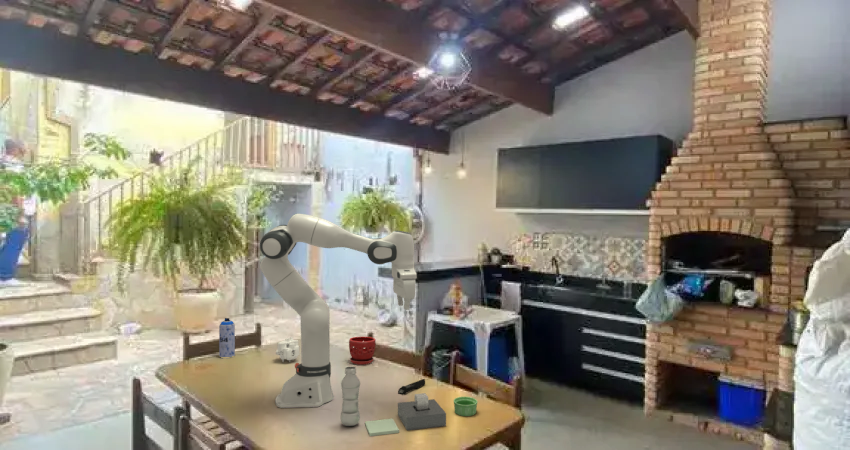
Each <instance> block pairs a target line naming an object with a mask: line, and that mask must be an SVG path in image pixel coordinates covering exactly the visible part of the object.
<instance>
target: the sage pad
mask: <svg viewBox="0 0 850 450" xmlns="http://www.w3.org/2000/svg"><path fill="white" fill-rule="evenodd" d="M364 425H365V428H366V431H367V433H368V435H369V437H375V436H384V435H393V434H399V433H400V429H399V427H398V426H397V423H396V421H395V420H394V418H393V417H392V418H384V419H377V420H367V421H364Z"/></svg>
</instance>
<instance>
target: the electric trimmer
mask: <svg viewBox="0 0 850 450" xmlns="http://www.w3.org/2000/svg"><path fill="white" fill-rule="evenodd" d="M425 385H426V379H425V378H422V379H420V380H417V381H414V382H412V383H409V384H407V385H402V386H401V387H399V389H398V390H397V394H398V395H402V396H403V395H404V396H405V395H406V394H408V393H410V392H411V391H413V390H418V389H419V388H422V387H423V386H425Z"/></svg>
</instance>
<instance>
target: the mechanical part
mask: <svg viewBox="0 0 850 450" xmlns="http://www.w3.org/2000/svg"><path fill="white" fill-rule="evenodd" d="M275 355H277V356H279V359H281V361H282V363H284V362H285V360H287V361H288V362H289V363H291V361H294V360H296V359H298V358H299V356H300V345H299V340H298V339H294V337H293V336H290V337H287V338H286V337H285V339H284V340H282V341H279V342H277V348H276V350H275Z"/></svg>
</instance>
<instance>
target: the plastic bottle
mask: <svg viewBox="0 0 850 450" xmlns="http://www.w3.org/2000/svg"><path fill="white" fill-rule="evenodd" d="M344 369H345V370H344V374H345V375H344V377H343V378H342V380H341V382H340V387H341V393H342V397H341V398H342V406H341V413H340V422H341V424H342V425H343V426H345V427H353V426H357V425H358V424H359V422H360V419H361V416H360V414H361V413H360V410H359V409H360V408H359V396H360V395H359V394H360V387H361V381H360V379H359V377H358V376H357V375H356V374H357V368H356V366H346V367H345V368H344Z"/></svg>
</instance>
